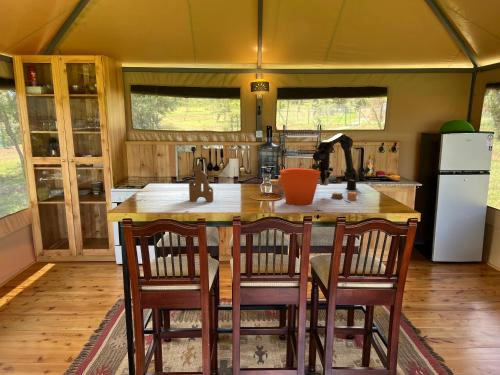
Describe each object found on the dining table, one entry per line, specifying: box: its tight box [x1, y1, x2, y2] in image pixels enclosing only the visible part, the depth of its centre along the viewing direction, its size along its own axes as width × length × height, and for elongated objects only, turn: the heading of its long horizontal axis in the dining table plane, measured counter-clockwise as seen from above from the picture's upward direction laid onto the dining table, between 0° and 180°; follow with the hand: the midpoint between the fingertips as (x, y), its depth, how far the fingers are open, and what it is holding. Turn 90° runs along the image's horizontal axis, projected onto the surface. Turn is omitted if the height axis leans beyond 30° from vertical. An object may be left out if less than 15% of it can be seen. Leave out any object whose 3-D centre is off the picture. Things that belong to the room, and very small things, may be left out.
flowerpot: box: [279, 167, 321, 207], centre depth 216 cm, size 25×25×20 cm
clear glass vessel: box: [270, 175, 284, 195], centre depth 246 cm, size 21×6×12 cm, turn 88°
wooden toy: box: [188, 161, 214, 203], centre depth 219 cm, size 15×7×25 cm, turn 88°
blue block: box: [319, 177, 330, 186], centre depth 235 cm, size 4×4×4 cm
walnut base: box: [330, 191, 344, 200], centre depth 231 cm, size 6×6×3 cm
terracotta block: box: [347, 191, 357, 201], centre depth 227 cm, size 4×4×4 cm
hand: (324, 183), depth 235 cm, fingers closed on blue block, 4 cm apart
